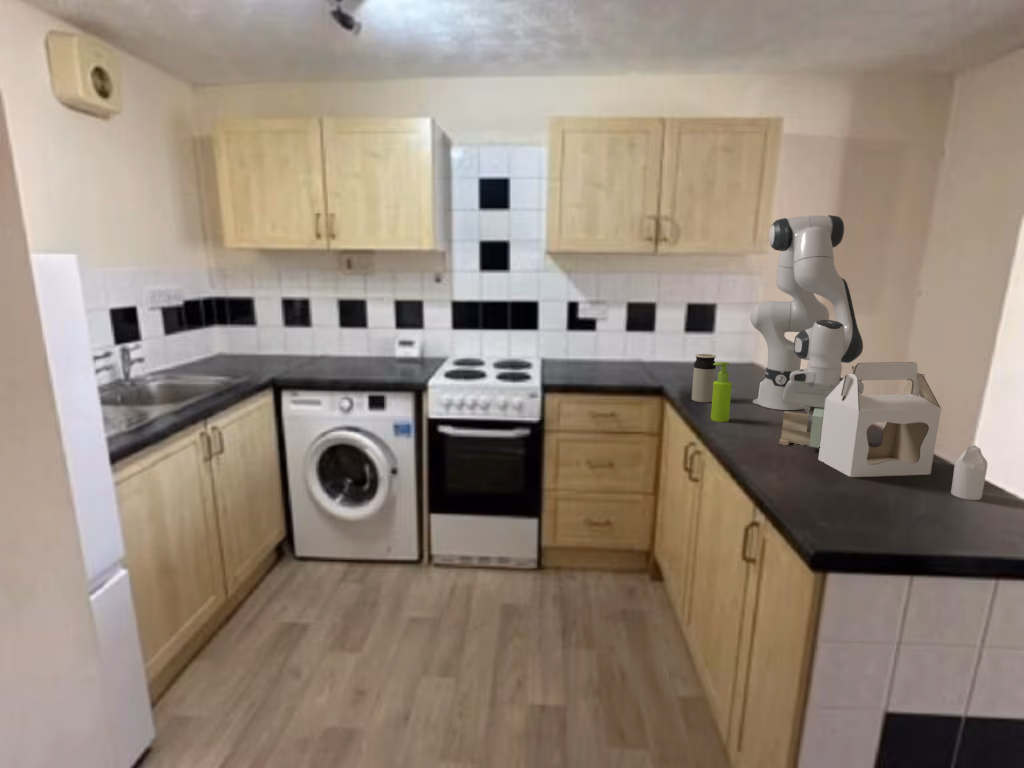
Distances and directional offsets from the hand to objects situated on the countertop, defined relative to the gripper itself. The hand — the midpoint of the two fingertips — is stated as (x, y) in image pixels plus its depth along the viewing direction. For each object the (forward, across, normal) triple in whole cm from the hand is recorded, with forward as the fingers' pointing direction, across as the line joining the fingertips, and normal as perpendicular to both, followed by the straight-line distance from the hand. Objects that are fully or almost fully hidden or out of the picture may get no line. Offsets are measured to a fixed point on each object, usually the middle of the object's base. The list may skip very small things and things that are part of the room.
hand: (817, 421), depth 168 cm
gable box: (+7, -14, +17) cm, 23 cm away
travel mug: (+6, +41, -36) cm, 55 cm away
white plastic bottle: (+6, -32, +28) cm, 43 cm away
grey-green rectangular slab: (+5, 0, +5) cm, 7 cm away
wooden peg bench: (+6, 0, +5) cm, 8 cm away
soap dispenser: (+6, +30, -10) cm, 32 cm away
